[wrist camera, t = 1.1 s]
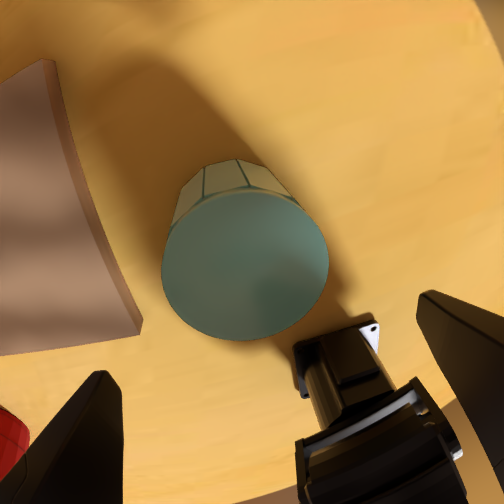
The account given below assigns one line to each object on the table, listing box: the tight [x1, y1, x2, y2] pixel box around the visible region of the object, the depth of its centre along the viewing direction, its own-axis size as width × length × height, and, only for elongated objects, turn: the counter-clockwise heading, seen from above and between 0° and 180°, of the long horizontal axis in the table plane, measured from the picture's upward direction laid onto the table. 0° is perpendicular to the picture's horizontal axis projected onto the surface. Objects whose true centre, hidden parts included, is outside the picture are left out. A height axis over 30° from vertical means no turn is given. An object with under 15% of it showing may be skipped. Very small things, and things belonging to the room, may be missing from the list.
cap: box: [161, 159, 329, 341], centre depth 14 cm, size 6×6×6 cm
